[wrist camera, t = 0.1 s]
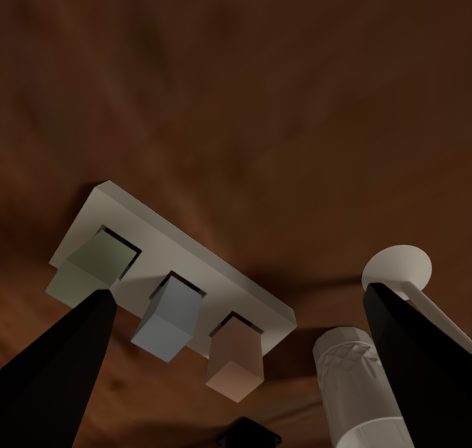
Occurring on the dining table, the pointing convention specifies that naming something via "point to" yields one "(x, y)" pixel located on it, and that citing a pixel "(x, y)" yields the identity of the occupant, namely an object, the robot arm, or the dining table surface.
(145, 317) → the grey rectangular block
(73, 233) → the button board
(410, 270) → the champagne flute
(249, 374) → the terracotta button
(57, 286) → the pale green block
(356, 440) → the white cup
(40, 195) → the dining table surface
